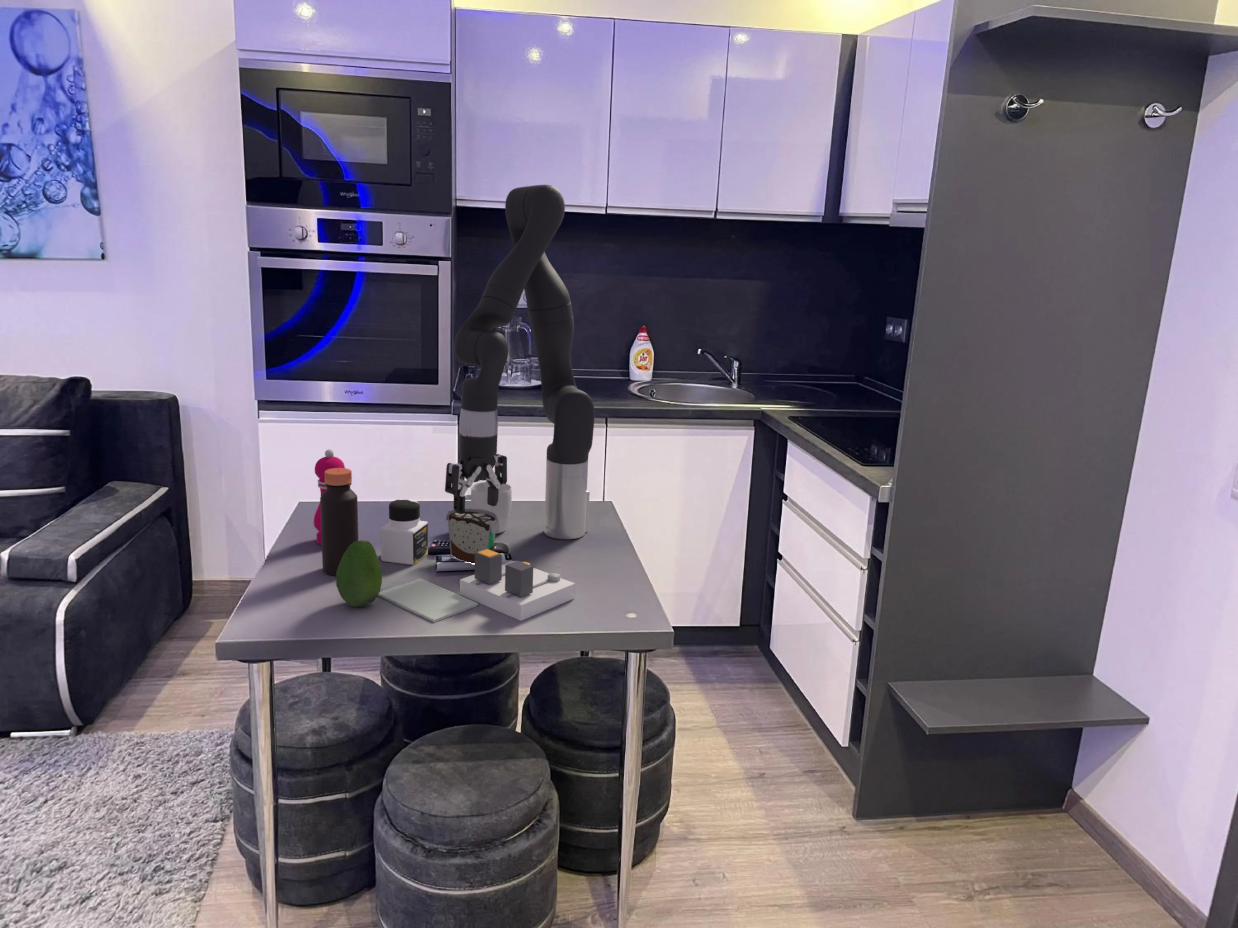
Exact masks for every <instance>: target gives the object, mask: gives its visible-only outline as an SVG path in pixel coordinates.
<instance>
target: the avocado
mask: <svg viewBox="0 0 1238 928" xmlns="http://www.w3.org/2000/svg"><path fill="white" fill-rule="evenodd" d="M335 578H336V579H335V581H336V584H335V585H336V587H337V591H338V592H339V593H338V594H339V595H340V597H341V598H342V600H343V601H344V602H345V603H346V604H348V605H350V606H351V607H359V608H360V607H362V608H364V607H365V606H367V605H369V604H371V603H373V602H374V601H375V600H376V598H377V597H379V596H378V594H379V592H381V589H382V585H383V570H382V568H381V564H380V561H379V559H378V555H377V553H376V549H375V547H374V545H372V543H371V542H370V541H368V540H363V539H362V540H358V541H356V542H353V543H352V544H351V545H350V546H349V547H348V548H347V550H346V551H345V553H344V554H343V557H342V559H341V561H340V564H339V566H338V569H337V572H336V576H335Z"/></svg>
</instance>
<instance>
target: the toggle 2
mask: <svg viewBox="0 0 1238 928" xmlns="http://www.w3.org/2000/svg"><path fill="white" fill-rule="evenodd" d="M514 561H515V562H512V561H511V562H512V563H509V562H508V563H509V564H506V563H505V564H506V565H505V591H507V592H509V593H511V594H514V595H516V596H519V597H523V596H525V595H528V594H530V593H533V568H534V566H533V565H531V564H530V565H528V564H526V563H523V562H524V561H519V560H514Z"/></svg>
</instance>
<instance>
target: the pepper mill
mask: <svg viewBox="0 0 1238 928" xmlns="http://www.w3.org/2000/svg"><path fill="white" fill-rule="evenodd" d="M332 468H346V466H345V463H344V461H343V460H342V459H341V458H339V457H337V456H335V453H334V450H333V449H326V450H325V451H324V456H322V457H321V458H320V459H318V460H317V461H316V463H315V465H314V474H315V476H316V477H317V478H318V480H317V487H318V488H319V491H320V496H321V495H322V494H323V493H324V492H325V491H326V490H327V486H326V485H325V474H324V472H325V471H326V470H328V469H332ZM313 516H314V517H313V526H314V528H315V529H316V531H317V533H316V543H317V544H318V545H320V546H322V536H321V509H320V502H319V504H318V506H317V508H316V511H315V513H314V515H313Z"/></svg>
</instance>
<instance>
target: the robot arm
mask: <svg viewBox="0 0 1238 928" xmlns="http://www.w3.org/2000/svg"><path fill="white" fill-rule="evenodd" d="M504 205H505V206H504V210H505V218H506V222H507V223H506V224H507V228H508V230H509V234H510V238H511V241H512V243H513V244H512V245H513V248H512V249H511V251H510V252H509V253H508V254H507V255H506V256H505V258H504V259H503V260H501V262H500V263H499V264H498V265H497V267H496V268H495V269H494V270H493V272H492V273H491V275H490V277H489V279H488V281H487V283H486V286H485V289H483V293H482V295H481V297H480V300H479V303H478V304H477V306H476V307H475V309H474V310H473V311H472V312H471V313H470V315H469V316H468V317H467V319H466V320H464V321H465V322H464V323H463V324H462V325H461V326H460V328H459V330H458V331H457V333H456V336H455V338H454V341H453V351H454V355H455V357H456V358H457V359H456V360H457V361H459V362H461V363H462V364H465V365H470V366H475V367H480V371H479V373H478V376H474V377H467V378H465V379H464V380H463V382H462V384H461V399H460V400H461V401H460V403H461V404H460V406H461V407H460V415H459V428H458V429H459V430H458V431H459V432H458V453H459V456H460V460H459V462H458V463H452V462H448V463H447V464H446V468H445V471H446V472H445V483H444V484H445V485H444V492H445V493H448V494H450V495H453V510H455V512H456V513H458V514H464V513H465V508H466V500H465V495H466V493H467V491H468V489H469V488H472V486H473V485H474V483H479V482H480V481H482V482H487V483H488V485H489V486H490V487H488V495H487V503H488V505H490V506H496V505H497V502H498V494H499V488H500V486H501V485H502V484H508V483H507V482H508V457H507V455H506V456H505V455H503V454H500V453H497V452H498V431H499V430H498V429H499V417H498V416H499V415H498V396H499V395H498V392H499V388H500V387H499V386H500V384H501V379H502V377H503V373H504V369H505V367H506V364H507V361H508V357H509V345H508V341H507V340H506V338H505V336H504V334H502V333H500V332H498V331H494V329H495V328H499V327H505V326H508V325H509V324H510V323H511V321H512V320H513V319H514V315H515V313H516V311H517V308H518V305H519V303H520V300H521V297H522V295H523V292H524V295H525V303H526V308H527V314H528V320H529V325H530V328H531V333H532V338H533V344H534V349H535V353H536V357H537V361H538V366H539V373H540V374H539V375H540V384H541V399H542V408H543V412H544V414H545V417H546V418H547V419H548V421H550V423H552V424H553V439H552V443H550V444H548V445H547V448H546V458H545V459H546V460H545V461H546V462H545V463H546V465H545V466H546V467H545V497H544V498H545V499H544V526H543V527H544V528H543V529H544V531H543V533H544V535H546V536H547V537H549V538H552V539H558V540H574V539H575V540H576V539H579V538H582V537H584V536H585V535H586V533H587V532H589V512H590V496H591V495H590V493H591V492H590V491H589V490H588V475H589V473H588V472H589V470H588V468H589V453H590V451H591V449H592V446H593V440H594V429H595V405H594V402H593V399H592V398H591V396H590V395H589V394H588V393H586V392H585V391H583V390H581V389H578V386H577V383H576V380H575V376H574V372H573V367H572V348H573V341H574V334H575V321H574V314H573V313H574V312H573V308H572V307H573V306H572V302H571V298H570V297H571V296H570V293H569V291H568V289H567V287H566V285H565V283H564V281H563V280H562V279H561V277H560V275H559V273H557V271H556V269H555V268H554V266H552V263H551V262H550V261H549V259H548V256H547V254H546V250H547V248H548V246H549V244H550V243H551V241H552V240H553V238H554V236H556V233H557V231H558V230H559V228H560V226H561V225H562V222H563V219H564V217H565V210H566V202H565V199H564V197H563V195H562V193H561V191H560V190H559V189H558V188H557V187H556V186H553V185H550V184H535V185H527V186H519V187H515V188H513V189H511V190H510V191H509V193H508V194H507V196H506V199H505V203H504ZM493 469H494V470H493ZM465 479H466V480H465Z"/></svg>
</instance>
